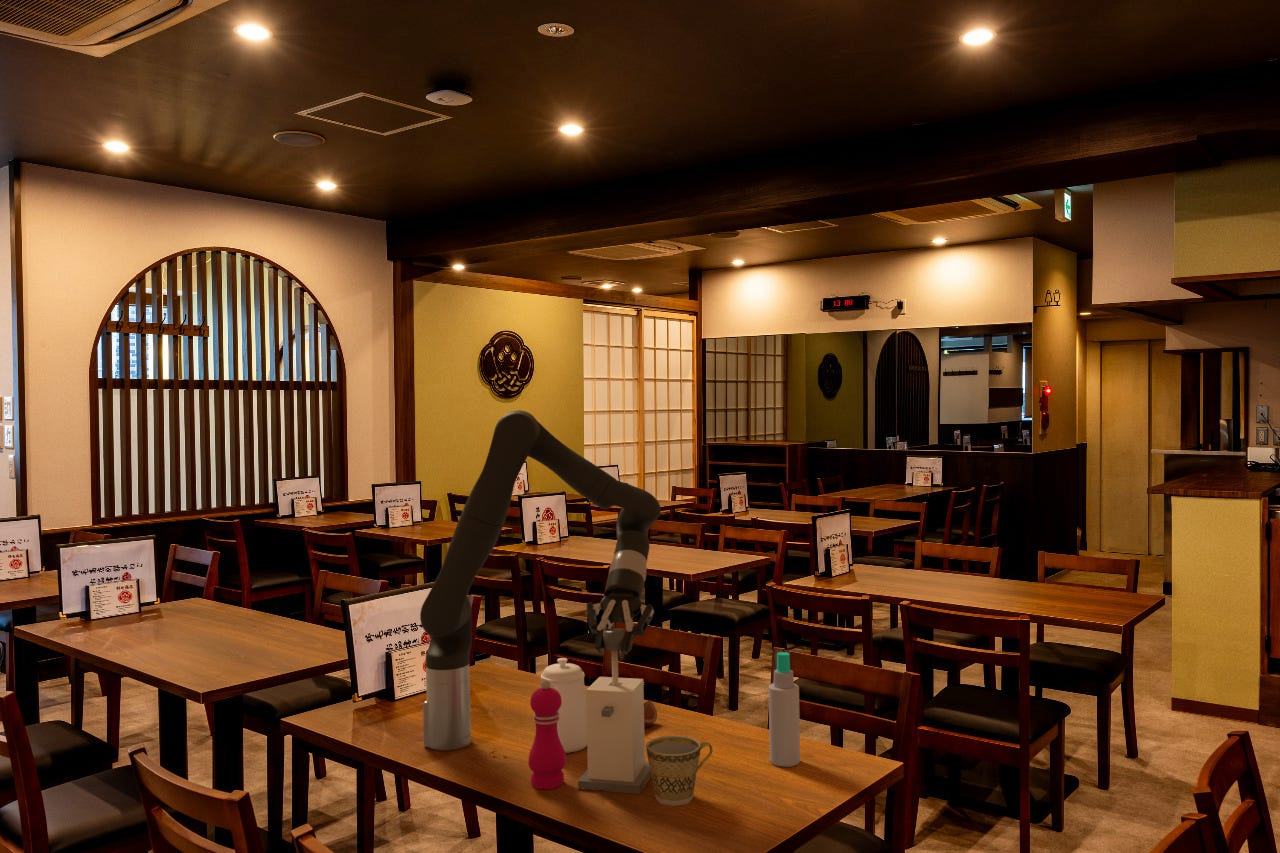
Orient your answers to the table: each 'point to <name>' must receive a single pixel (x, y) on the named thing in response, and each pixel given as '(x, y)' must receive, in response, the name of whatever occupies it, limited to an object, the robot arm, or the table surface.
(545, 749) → the pepper mill
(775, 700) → the spray bottle
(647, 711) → the fruit slice
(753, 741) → the table surface
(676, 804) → the ceramic cup
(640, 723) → the dispenser
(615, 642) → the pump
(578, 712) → the coffeepot
